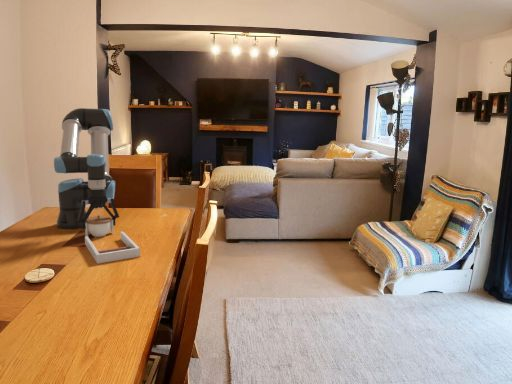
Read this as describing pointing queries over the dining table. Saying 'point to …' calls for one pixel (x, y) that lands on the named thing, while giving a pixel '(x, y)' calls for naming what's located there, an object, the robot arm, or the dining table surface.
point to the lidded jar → (99, 225)
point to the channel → (115, 254)
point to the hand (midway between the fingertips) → (99, 234)
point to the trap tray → (114, 249)
